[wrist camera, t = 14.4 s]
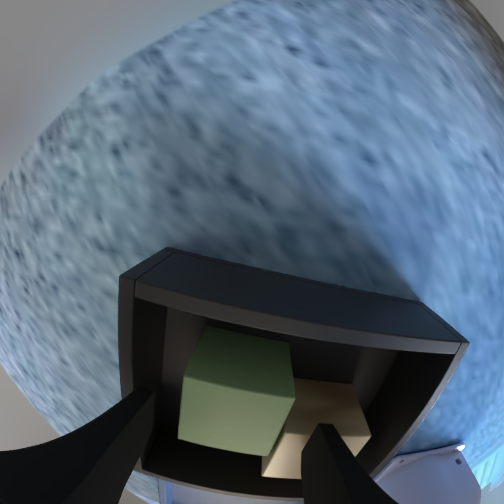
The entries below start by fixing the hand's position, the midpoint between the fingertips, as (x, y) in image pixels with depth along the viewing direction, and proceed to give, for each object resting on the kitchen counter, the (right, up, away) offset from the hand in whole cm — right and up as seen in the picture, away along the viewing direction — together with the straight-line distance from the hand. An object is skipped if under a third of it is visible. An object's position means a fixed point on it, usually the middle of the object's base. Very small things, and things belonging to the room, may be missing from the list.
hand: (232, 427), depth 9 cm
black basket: (+2, 0, +5) cm, 5 cm away
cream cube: (+4, -2, +5) cm, 6 cm away
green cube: (0, +1, +4) cm, 4 cm away
